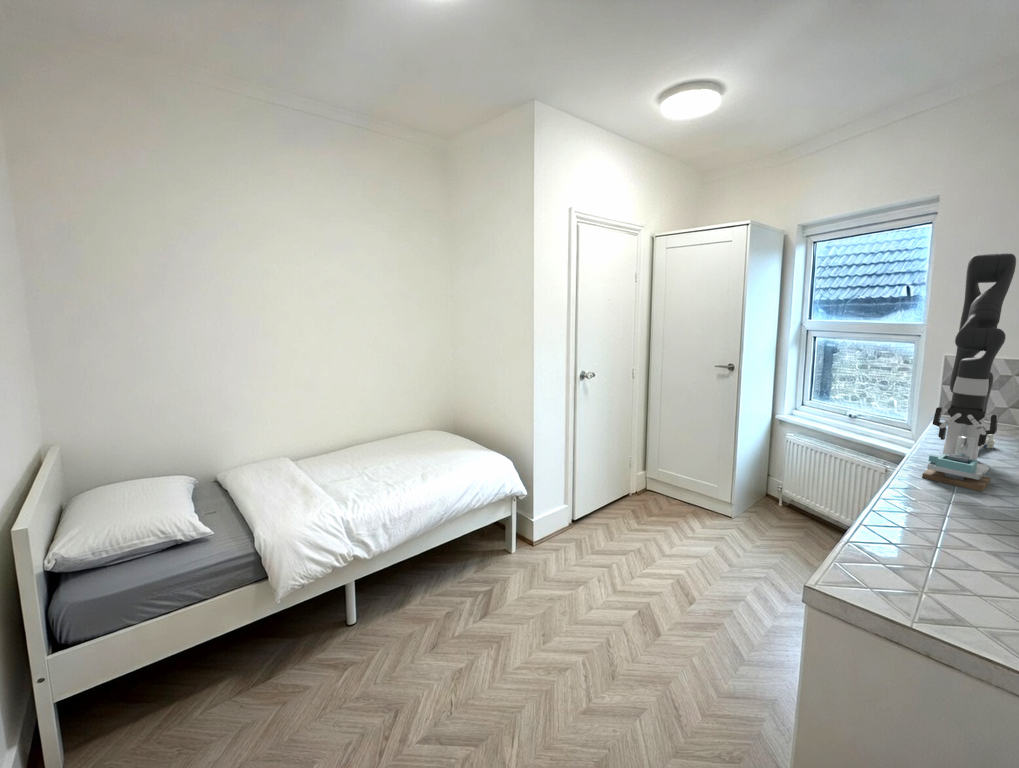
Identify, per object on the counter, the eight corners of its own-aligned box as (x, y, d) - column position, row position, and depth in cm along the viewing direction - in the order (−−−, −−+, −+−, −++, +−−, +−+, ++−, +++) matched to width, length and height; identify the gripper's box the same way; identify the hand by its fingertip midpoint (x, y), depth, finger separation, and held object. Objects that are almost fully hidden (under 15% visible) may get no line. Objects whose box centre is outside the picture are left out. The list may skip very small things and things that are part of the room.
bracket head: (932, 459, 155) (933, 452, 154) (976, 468, 146) (977, 460, 146) (925, 463, 150) (926, 456, 149) (970, 473, 141) (972, 465, 141)
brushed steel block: (946, 474, 150) (950, 453, 149) (965, 478, 147) (969, 457, 146) (944, 476, 148) (948, 455, 147) (963, 481, 144) (967, 459, 143)
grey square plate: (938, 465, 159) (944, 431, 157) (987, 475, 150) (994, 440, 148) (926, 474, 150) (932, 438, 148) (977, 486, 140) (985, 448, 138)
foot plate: (932, 469, 159) (933, 465, 159) (990, 481, 148) (991, 477, 148) (921, 477, 151) (922, 473, 151) (981, 491, 140) (982, 486, 140)
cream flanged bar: (959, 444, 178) (981, 427, 191) (956, 459, 180) (978, 442, 192) (977, 447, 174) (999, 430, 186) (975, 463, 176) (996, 446, 188)
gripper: (1005, 394, 140) (994, 446, 142) (942, 387, 151) (933, 435, 153) (1000, 397, 135) (990, 450, 138) (936, 389, 146) (927, 439, 149)
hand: (960, 442), depth 146 cm, fingers open, 8 cm apart
